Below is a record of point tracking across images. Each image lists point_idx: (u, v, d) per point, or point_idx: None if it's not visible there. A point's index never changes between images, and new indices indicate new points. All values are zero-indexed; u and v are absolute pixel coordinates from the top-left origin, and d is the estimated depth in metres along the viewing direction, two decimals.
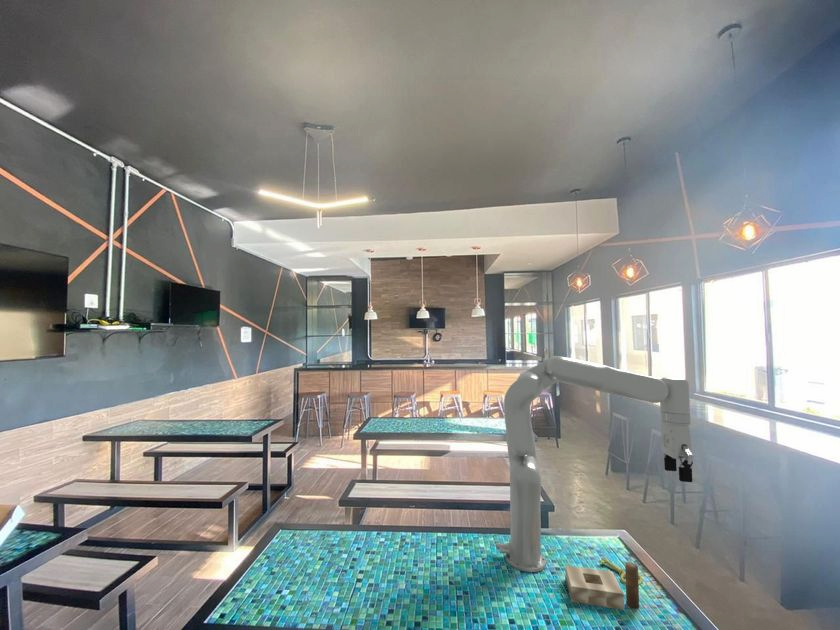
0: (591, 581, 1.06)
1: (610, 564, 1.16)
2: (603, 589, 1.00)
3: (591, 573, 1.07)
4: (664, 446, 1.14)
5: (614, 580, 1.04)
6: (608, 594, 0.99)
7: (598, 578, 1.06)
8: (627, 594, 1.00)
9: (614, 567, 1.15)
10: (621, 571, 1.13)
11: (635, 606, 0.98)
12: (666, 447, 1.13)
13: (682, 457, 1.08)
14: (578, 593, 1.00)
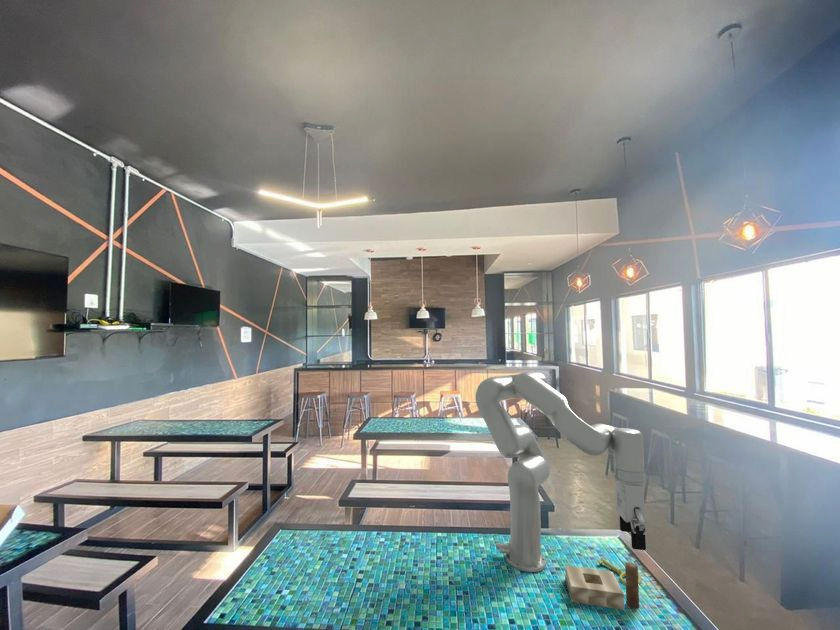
0: (591, 581, 1.06)
1: (608, 564, 1.16)
2: (603, 589, 1.00)
3: (591, 573, 1.07)
4: (618, 505, 1.04)
5: (614, 580, 1.04)
6: (608, 594, 0.99)
7: (598, 578, 1.06)
8: (627, 594, 1.00)
9: (612, 567, 1.15)
10: (620, 571, 1.13)
11: (635, 606, 0.98)
12: (619, 507, 1.02)
13: (635, 521, 0.97)
14: (578, 593, 1.00)
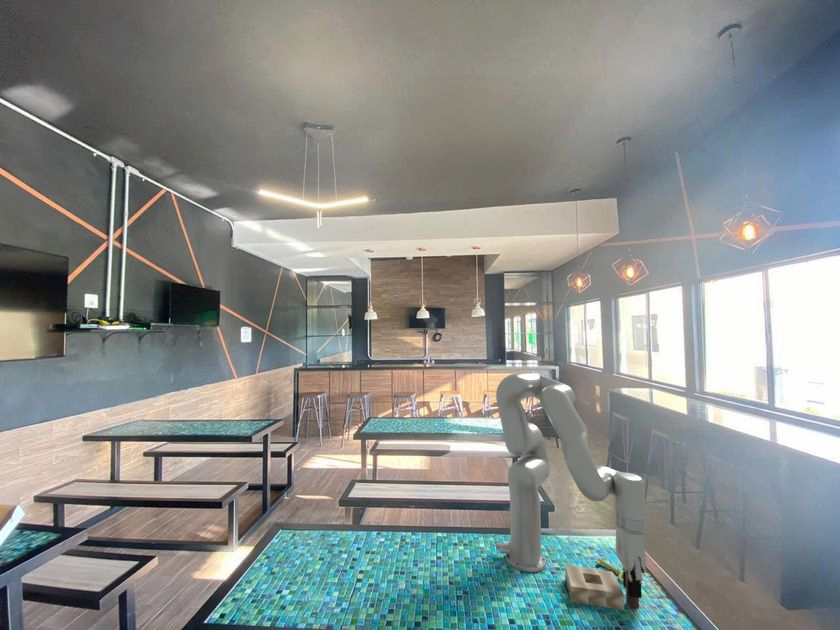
0: (591, 581, 1.06)
1: (606, 564, 1.16)
2: (603, 589, 1.00)
3: (591, 573, 1.07)
4: (618, 551, 1.03)
5: (614, 580, 1.04)
6: (608, 594, 0.99)
7: (598, 578, 1.06)
8: (627, 594, 1.00)
9: (611, 567, 1.15)
10: (618, 571, 1.13)
11: (635, 606, 0.98)
12: (620, 554, 1.01)
13: (633, 571, 0.98)
14: (578, 593, 1.00)
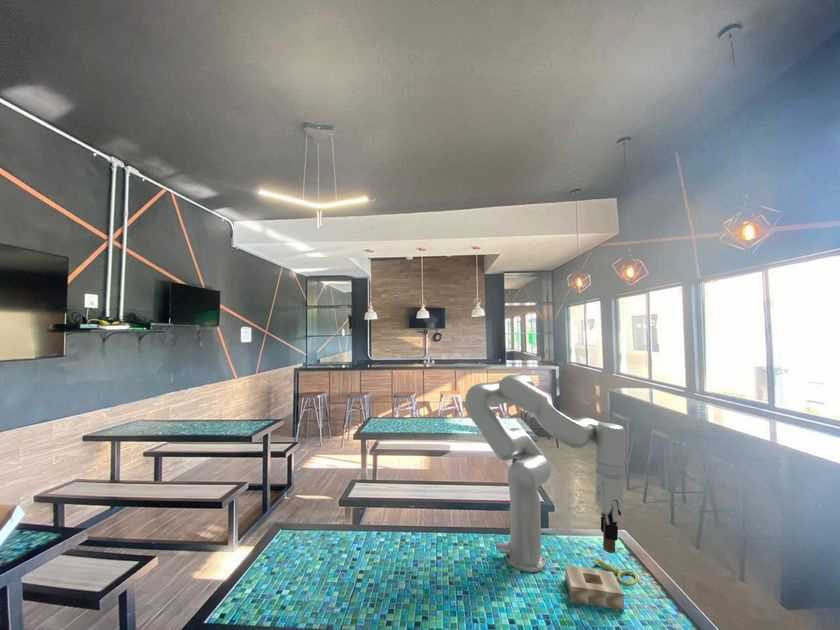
0: (591, 581, 1.06)
1: (604, 564, 1.16)
2: (603, 589, 1.00)
3: (591, 573, 1.07)
4: (597, 498, 1.06)
5: (614, 580, 1.04)
6: (608, 594, 0.99)
7: (598, 578, 1.06)
8: (604, 540, 1.03)
9: (609, 567, 1.15)
10: (616, 571, 1.13)
11: (611, 551, 1.02)
12: (598, 499, 1.05)
13: (610, 515, 1.01)
14: (578, 593, 1.00)
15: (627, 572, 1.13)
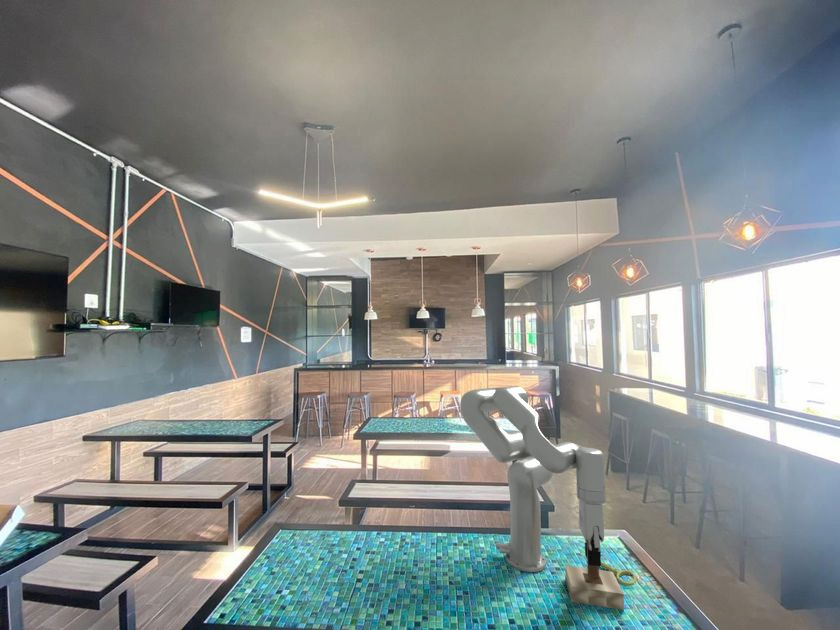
0: (591, 581, 1.06)
1: (603, 564, 1.16)
2: (603, 589, 1.00)
3: None
4: (580, 523, 1.07)
5: (614, 580, 1.04)
6: (608, 594, 0.99)
7: None
8: (588, 566, 1.04)
9: (607, 567, 1.15)
10: (615, 571, 1.13)
11: (595, 577, 1.03)
12: (581, 525, 1.06)
13: (593, 540, 1.02)
14: (578, 593, 1.00)
15: (626, 572, 1.13)
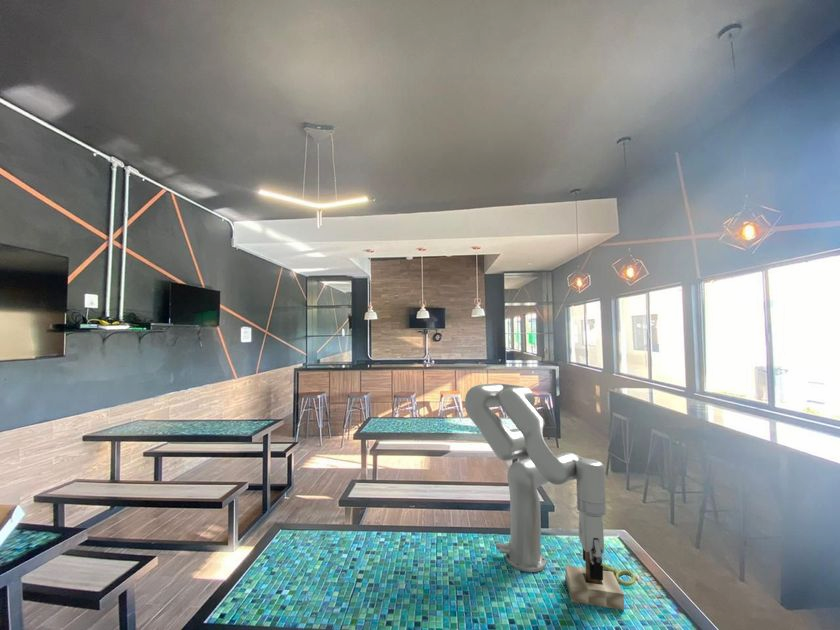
0: None
1: None
2: (603, 589, 1.00)
3: None
4: (580, 534, 1.07)
5: (614, 580, 1.04)
6: (608, 594, 0.99)
7: None
8: None
9: (606, 567, 1.15)
10: (614, 571, 1.13)
11: None
12: (581, 536, 1.06)
13: (594, 552, 1.01)
14: (578, 593, 1.00)
15: (624, 571, 1.13)
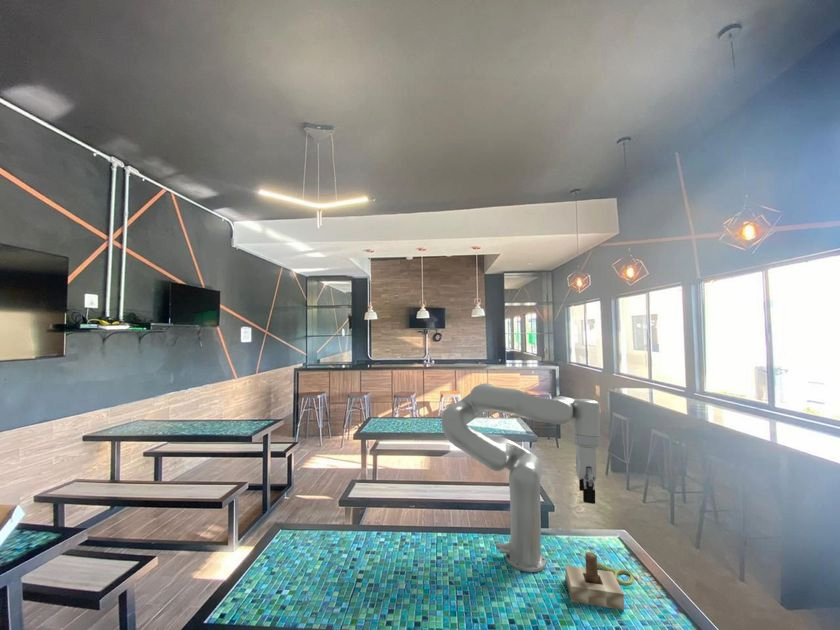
0: None
1: (600, 565, 1.16)
2: (603, 589, 1.00)
3: None
4: (576, 467, 1.17)
5: (614, 580, 1.04)
6: (608, 594, 0.99)
7: (598, 578, 1.06)
8: None
9: (604, 567, 1.15)
10: (612, 571, 1.13)
11: None
12: (577, 468, 1.15)
13: (587, 479, 1.10)
14: (578, 593, 1.00)
15: (622, 571, 1.14)
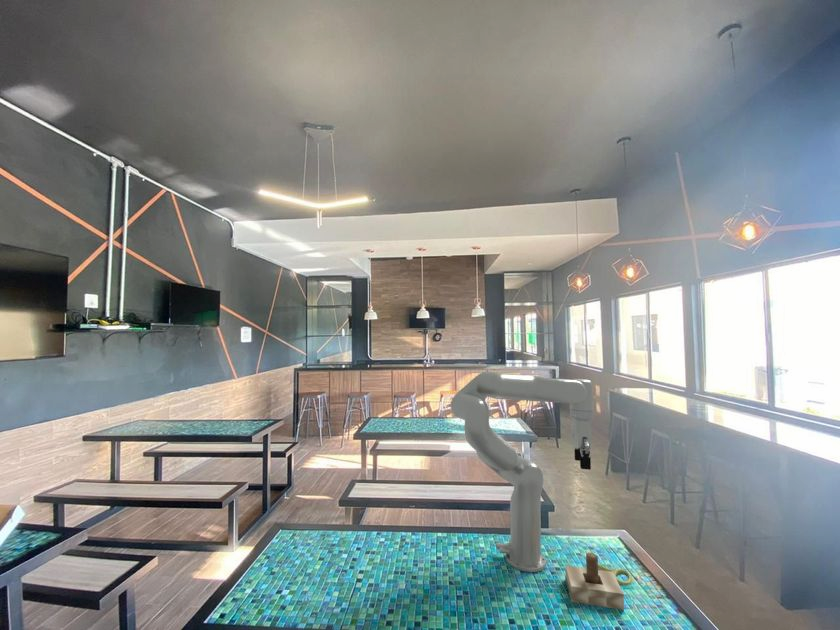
0: None
1: (598, 565, 1.15)
2: (603, 589, 1.00)
3: None
4: (572, 439, 1.32)
5: (614, 580, 1.04)
6: (608, 594, 0.99)
7: (598, 578, 1.06)
8: None
9: (603, 568, 1.15)
10: (611, 571, 1.13)
11: None
12: (573, 440, 1.30)
13: (583, 448, 1.25)
14: (578, 593, 1.00)
15: (620, 571, 1.14)
